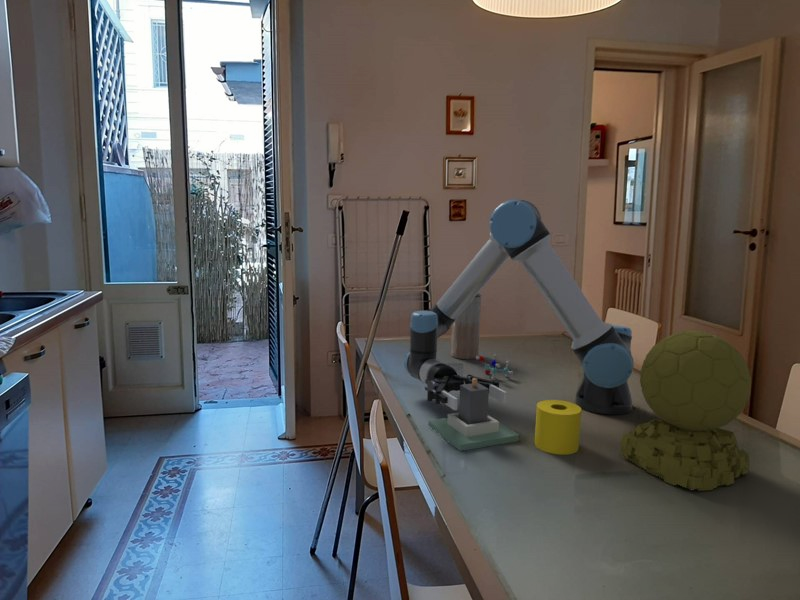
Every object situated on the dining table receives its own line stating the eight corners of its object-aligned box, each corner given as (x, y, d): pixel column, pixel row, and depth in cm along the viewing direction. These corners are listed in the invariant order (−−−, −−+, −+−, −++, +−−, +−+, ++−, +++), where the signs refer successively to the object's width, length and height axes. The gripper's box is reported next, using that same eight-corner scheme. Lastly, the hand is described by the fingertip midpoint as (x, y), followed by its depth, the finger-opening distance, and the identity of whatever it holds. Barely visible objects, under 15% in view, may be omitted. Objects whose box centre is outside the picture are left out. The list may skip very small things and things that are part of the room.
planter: (459, 351, 226) (461, 291, 222) (483, 355, 220) (486, 294, 217) (445, 356, 218) (447, 294, 214) (469, 361, 212) (472, 297, 209)
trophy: (674, 439, 146) (687, 317, 141) (763, 476, 127) (781, 337, 122) (606, 455, 136) (617, 325, 131) (692, 498, 117) (709, 348, 112)
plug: (475, 421, 150) (478, 374, 148) (486, 428, 146) (489, 380, 143) (458, 424, 148) (460, 377, 146) (468, 431, 143) (471, 383, 141)
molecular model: (515, 363, 198) (507, 341, 192) (516, 384, 191) (508, 362, 185) (481, 369, 201) (472, 348, 196) (481, 390, 194) (472, 369, 188)
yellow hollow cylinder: (525, 440, 144) (528, 402, 142) (560, 434, 147) (562, 397, 146) (552, 457, 134) (554, 417, 133) (587, 450, 138) (590, 411, 137)
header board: (482, 418, 157) (483, 403, 157) (518, 440, 143) (519, 424, 142) (428, 426, 151) (428, 411, 150) (460, 451, 137) (460, 434, 136)
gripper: (478, 384, 167) (523, 409, 148) (396, 395, 157) (433, 423, 138) (479, 358, 166) (525, 380, 147) (396, 367, 156) (434, 391, 137)
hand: (481, 401), depth 142 cm, fingers open, 13 cm apart
